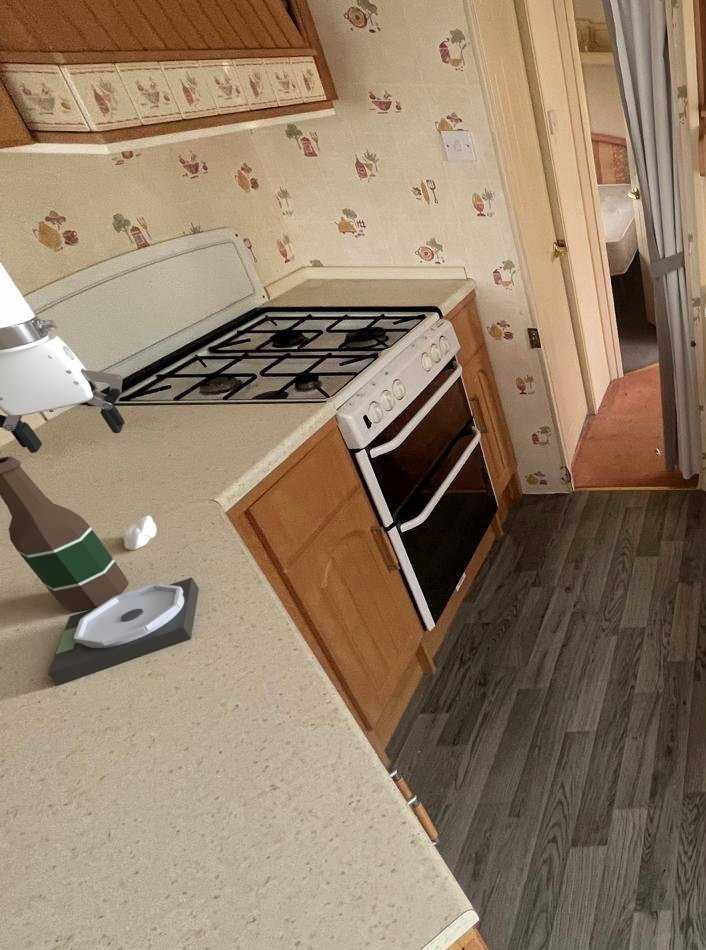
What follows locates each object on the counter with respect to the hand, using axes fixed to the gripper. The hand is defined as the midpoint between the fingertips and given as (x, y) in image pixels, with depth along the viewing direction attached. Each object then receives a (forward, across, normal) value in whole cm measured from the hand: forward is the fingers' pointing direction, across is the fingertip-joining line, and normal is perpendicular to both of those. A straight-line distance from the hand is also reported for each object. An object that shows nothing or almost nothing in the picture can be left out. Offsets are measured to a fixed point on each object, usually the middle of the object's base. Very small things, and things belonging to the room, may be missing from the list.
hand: (78, 439), depth 105 cm
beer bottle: (+20, +4, +14) cm, 25 cm away
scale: (+20, -2, +28) cm, 34 cm away
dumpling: (+20, 0, 0) cm, 20 cm away
